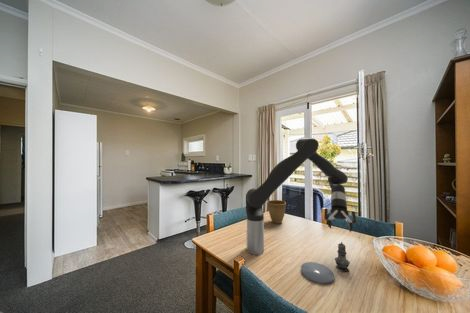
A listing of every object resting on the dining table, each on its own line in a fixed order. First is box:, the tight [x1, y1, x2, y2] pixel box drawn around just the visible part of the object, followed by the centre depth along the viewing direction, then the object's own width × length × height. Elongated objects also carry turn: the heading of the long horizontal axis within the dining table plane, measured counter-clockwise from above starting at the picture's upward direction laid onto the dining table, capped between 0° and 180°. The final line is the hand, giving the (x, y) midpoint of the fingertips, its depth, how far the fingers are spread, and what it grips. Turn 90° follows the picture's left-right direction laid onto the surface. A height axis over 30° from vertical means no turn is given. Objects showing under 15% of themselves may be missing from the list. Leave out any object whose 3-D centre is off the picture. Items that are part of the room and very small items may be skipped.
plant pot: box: [266, 199, 287, 224], centre depth 138 cm, size 15×15×16 cm
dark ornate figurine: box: [334, 241, 351, 273], centre depth 78 cm, size 6×6×12 cm
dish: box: [300, 261, 335, 285], centre depth 75 cm, size 13×13×1 cm
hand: (340, 229), depth 87 cm, fingers open, 8 cm apart
